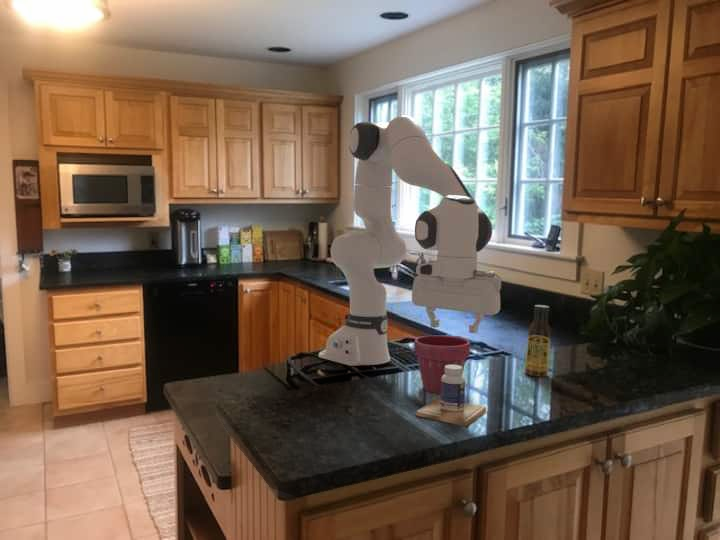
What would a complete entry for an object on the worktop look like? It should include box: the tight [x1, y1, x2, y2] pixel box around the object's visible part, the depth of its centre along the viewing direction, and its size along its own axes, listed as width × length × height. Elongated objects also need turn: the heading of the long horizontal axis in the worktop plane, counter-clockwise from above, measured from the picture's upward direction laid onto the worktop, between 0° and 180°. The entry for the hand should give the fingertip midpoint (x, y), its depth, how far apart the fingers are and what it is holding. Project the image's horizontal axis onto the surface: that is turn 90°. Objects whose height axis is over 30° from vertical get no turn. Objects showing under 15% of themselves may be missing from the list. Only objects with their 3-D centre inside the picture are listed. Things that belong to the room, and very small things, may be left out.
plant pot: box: [413, 334, 471, 394], centre depth 156 cm, size 14×14×13 cm
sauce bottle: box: [524, 304, 552, 378], centre depth 170 cm, size 6×6×20 cm
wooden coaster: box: [415, 397, 487, 427], centre depth 137 cm, size 12×12×1 cm
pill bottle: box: [440, 365, 466, 412], centre depth 137 cm, size 5×5×10 cm
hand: (453, 329), depth 136 cm, fingers open, 8 cm apart
